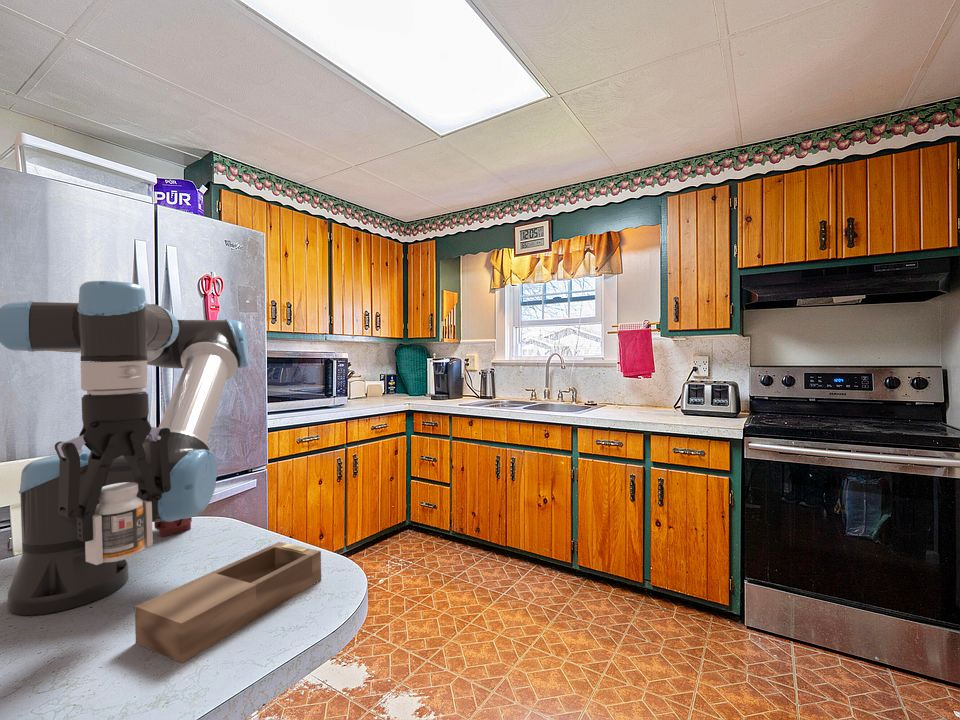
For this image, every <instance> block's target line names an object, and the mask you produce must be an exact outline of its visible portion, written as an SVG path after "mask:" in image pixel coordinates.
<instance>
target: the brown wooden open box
mask: <svg viewBox="0 0 960 720" xmlns="http://www.w3.org/2000/svg"><path fill="white" fill-rule="evenodd" d="M319 580H320V581H322V551H321V550H316V549H312V548H309V547H304V546H300V545H296V544H292V543H286V542H281V541H279V542H276V543H274V544H272V545H269V546H267V547H264V548H263V549H261V550H258V551H256V552H254V553H251V554H249V555H247V556H245V557H242V558H240V559H237V560H235V561H234V562H231V563H229V564H227V565H225V566H222V567H221V568H218V569H216V570H212V571H211V572H209V573H207V574H205V575H202V576H200V577H198V578H195V579H194V580H190V581H189V582H186V583H184V584H182V585H180V586H178V587H175V588H173V589H170V590H169V591H166V592H163V593H162V594H160V595H157V596H155V597H153V598H151V599H148V600H146V601H143V602H142V603H139V604H137V605H135V606H134V621H135V622H134V626H135V627H134V628H135V629H134V630H135V644H137V645H140V646H142V647H144V648H147V649H149V650H150V651H154V652H156V653H158V654H161V655H163V656H165V657H167V658H170V659H172V660H175V661H176V662H180V663H184V662H186V661H189V659H190V658H193V657H194V656H196V655H198V654H199V653H201V652H202V651H204V650H206V649H208V648H210V647H211V646H213V645H214V644H216V643H218V642H220V641H222V640H223V639H225V638H227V637H228V636H230V635H231V634H233V633H235V632H236V631H238V630H240V629H242V628H243V627H245V626H247V625H249V624H250V623H252V622H253V621H255V620H256V619H258V618H259V617H261V616H263V615H265V614H267V613H268V612H270V611H271V610H274V609H275V608H277V607H278V606H280V605H281V604H283V603H285V602H287V601H288V600H290V599H292V598H293V597H295V596H297V595H299V594H300V593H302V592H303V591H306V590H307V589H309V588H310V587H312V586H314V585H315V584H317V583H318V582H317V581H319ZM320 581H319V582H320ZM316 582H317V583H316ZM314 583H315V584H314ZM313 584H314V585H313Z"/></svg>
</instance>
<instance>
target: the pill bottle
mask: <svg viewBox="0 0 960 720" xmlns="http://www.w3.org/2000/svg"><path fill="white" fill-rule="evenodd" d="M137 493H138V484H137V483H134V482H125V483H117V484H111V485H107V486H104V487H102V490H101V494H100V497H99V500H100V503H99V504H98V505H97V507H96V510H95V514H97V515H101V516H102V548H103V562H116V561H121V560H125V559H126V560H128V559H131V558H133V557H136V556H137V555H139V554H140V553H142V552H143V550H144V549H145V547H146V546H145V541H144V515H143V514H144V513H143V501H142V500H141V499H140V498H138V497H137Z"/></svg>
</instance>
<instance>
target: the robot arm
mask: <svg viewBox="0 0 960 720" xmlns="http://www.w3.org/2000/svg"><path fill="white" fill-rule="evenodd" d="M78 290H79V291H78V302H50V301H49V302H48V301H47V302H45V301H44V302H43V301H42V302H41V301H33V300H29V301H23V302H21V301H20V302H18V301H17V302H8V303H5V304H4V305H1V307H0V344H1V346H3V347H4V348H6V349H8V350H11V351H16V352H17V351H20V352H22V351H26V352H31V353H34V352H57V353H58V352H61V353H75V354H76V353H77V354H80V390H82V391H83V392H86V394H84V395H83V396H82V397H81V421H82V428H81V431H80V432H79V436H77V437H73V438H72V439H69V440H67V441H62V440H61V441H57V442H56V443H55V444H54V450H55V452H56V454H54V455H50V456H45V457H42V458H38V459H36V460H33V461H31V462H29V463H27V464H26V465H25V466H24V467H23V468H22V470H21V476H20V487H19V491H18V494H20V498H19V499H20V519H21V520H20V523H21V546H22V547H21V549H22V550H21V558H20V561H19V562H18V563H19V564H18V566H17V569H16V570H15V574H14V576H13V579H12V581H11V584H10V586H9V589H8V592H7V610H8V611H9V613H11V614H14V615H19V616H20V615H21V616H36V615H44V614H45V615H46V614H51V613H58V612H61V611H66V610H70V609H74V608H77V607H80V606H85V605H86V604H89V603H92V602H95V601H97V600H100V599H102V598H104V597H106V596H108V595H110V594H112V593H114V592H116V591H117V590H119V589H121V588H122V587H123V586H124V585H125V584H126V583H127V581H128V580H129V564H128V562H127V559H125V560H121V561H116V562H103V548H102V516H101V515H97V514H95V510H96V507H97V505H98V504H99V503H100V500H99V497H100V494H101V490H102V487H104V486H107V485H111V484H117V483H125V482H134V483H137V484H138V493H137V497H138V498H140V499H141V500H142V501H143V513H144V514H143V515H144V541H145V547H147V548H149V547H151V546H153V545H154V542H153V538H154V537H153V532H154V531H153V523H154V522H159V521H167V522H172V521H176V520H179V519H186V518H195V517H197V516H199V515H200V514H202V513H203V512H204V511H205V510H206V509H207V507H208V506H209V504H210V502H211V500H212V498H213V496H214V493H215V490H216V486H217V478H218V472H219V471H218V461H217V457H216V455H215V454H214V452H212V451H211V448H210V446H209V444H208V443H207V442H208V438H209V436H210V432H211V429H212V427H213V424H214V423H213V422H214V420H215V416H216V413H217V410H218V407H219V403H220V401H221V397H222V394H223V391H224V389H225V384H226V381H227V380H229V379H230V378H232V377H233V376H234V375H235V374H236V372H237V370H238V368H239V369H242V368H246V367H248V366H249V361H250V357H249V356H250V355H249V343H248V336H247V331H246V330H247V329H246V327H245V325H244V323H243V322H241V321H240V320H235V319H233V320H232V319H228V318H227V319H223V320H221V319H209V320H208V319H178V318H177V317H176V316H175V315H174V314H173V313H172V312H171V311H170V310H168V309H166V308H164V307H162V306H161V305H158V304H154V303H151V304H150V303H148V300H147V299H146V297H147V296H146V291H145V288H144V287H143V286H142V285H140V284H136V283H134V282H133V283H132V282H126V281H115V280H114V281H112V280H111V281H110V280H92V281H86V282H83V283H82V284H80V286H79V289H78ZM148 366H154V367H159V368H160V367H161V368H167V369H183V370H182V372H181V375H180V377H179V378H178V382H177V384H176V387H175V388H174V391H173V393H172V396H171V398H170V400H169V403H168V405H167V407H166V409H165V412H164V414H163V416H162V419H161V421H160V423H159V424H158V426H156V427H155V426H154V427H153V426H152V425H151V424H150V421H149V419H148V417H149V413H150V412H149V411H150V410H149V409H150V408H149V393H148V392H147V391H145V390H144V389H146V388H147V387H148V386H149V385H148V384H149V382H148V381H149V380H148V377H149V376H148ZM84 446H85V447H86V448H83V447H84Z"/></svg>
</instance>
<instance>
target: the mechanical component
mask: <svg viewBox="0 0 960 720" xmlns="http://www.w3.org/2000/svg"><path fill="white" fill-rule="evenodd" d="M192 518H193V517H192ZM192 518H186V519H179V520H176V521H172V522H167V521H159V522H153V523H154V529H156V530H157V531H159V534H158V535H159V537H161V538H163V537H167V536H170V535H172V534H173V535H174V534H175V533H181V532H185V531H186V532H187V531H190V530H191V529H192V527H191V526H192V525H191V524H192V521H193V519H192Z"/></svg>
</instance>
